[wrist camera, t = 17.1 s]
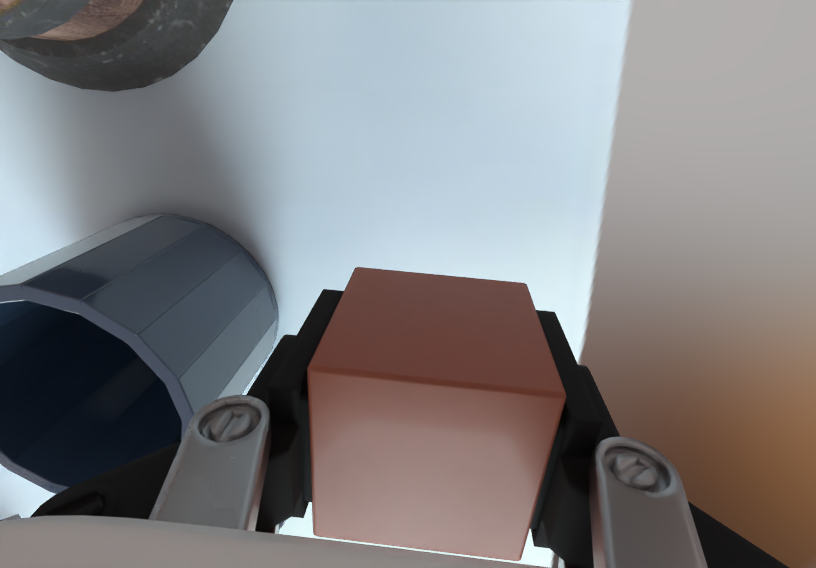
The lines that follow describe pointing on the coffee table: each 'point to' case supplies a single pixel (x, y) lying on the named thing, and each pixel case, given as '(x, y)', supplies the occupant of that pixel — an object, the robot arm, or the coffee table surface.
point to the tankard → (108, 38)
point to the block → (431, 414)
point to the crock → (125, 344)
